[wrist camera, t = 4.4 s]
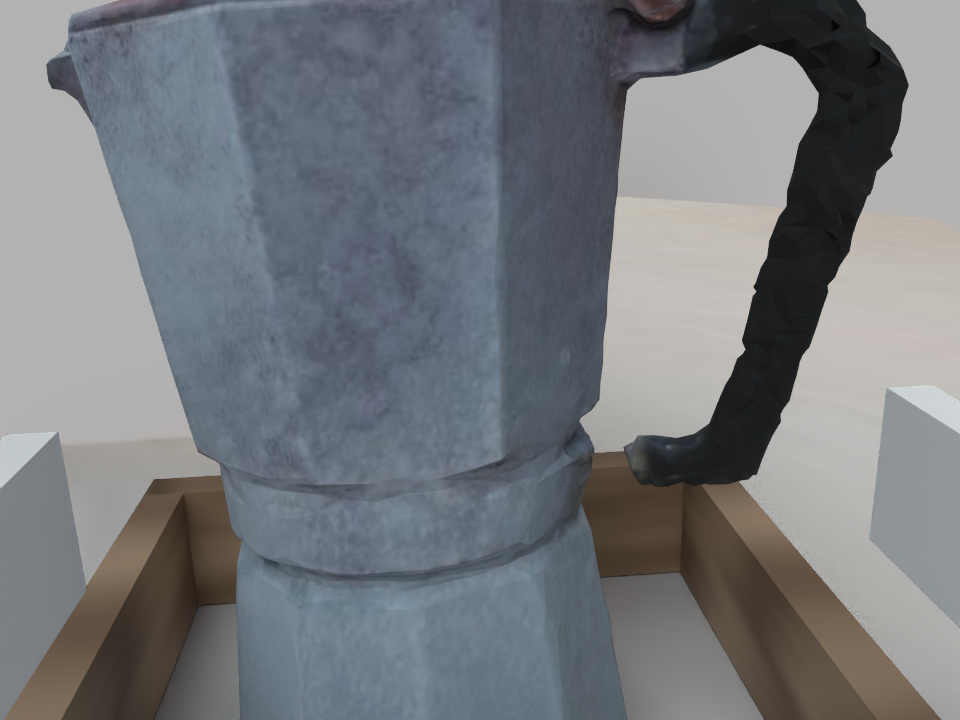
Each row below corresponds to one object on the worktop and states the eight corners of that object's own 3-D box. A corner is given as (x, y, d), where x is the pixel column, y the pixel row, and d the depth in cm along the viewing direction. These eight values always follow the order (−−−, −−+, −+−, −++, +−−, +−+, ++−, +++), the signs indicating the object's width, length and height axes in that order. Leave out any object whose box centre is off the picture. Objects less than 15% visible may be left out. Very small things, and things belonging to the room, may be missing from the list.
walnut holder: (1012, 1029, 15) (1049, 847, 14) (-91, 1150, 14) (-150, 959, 13) (703, 551, 31) (708, 446, 30) (170, 587, 30) (154, 479, 29)
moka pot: (242, 653, 26) (149, -90, 21) (784, 707, 24) (858, -140, 18) (29, 946, 18) (-243, -219, 12) (860, 1091, 15) (1063, -364, 9)
